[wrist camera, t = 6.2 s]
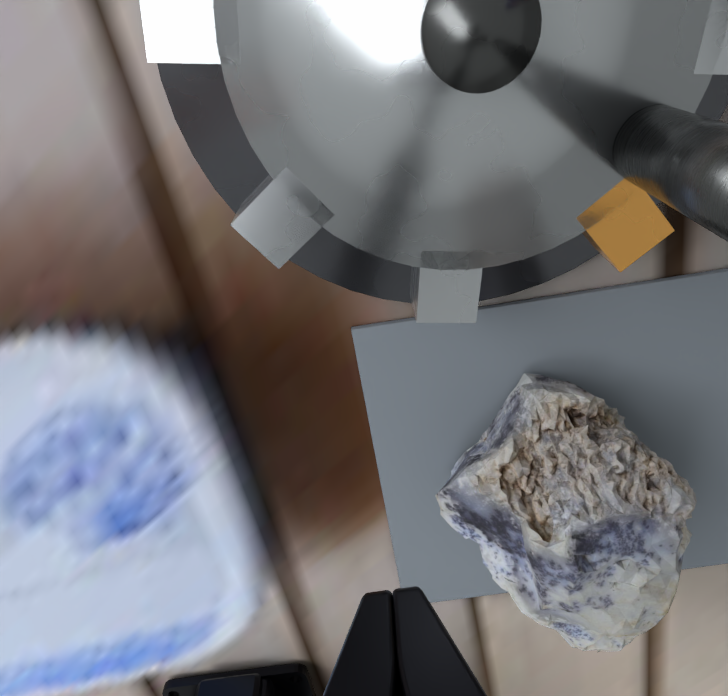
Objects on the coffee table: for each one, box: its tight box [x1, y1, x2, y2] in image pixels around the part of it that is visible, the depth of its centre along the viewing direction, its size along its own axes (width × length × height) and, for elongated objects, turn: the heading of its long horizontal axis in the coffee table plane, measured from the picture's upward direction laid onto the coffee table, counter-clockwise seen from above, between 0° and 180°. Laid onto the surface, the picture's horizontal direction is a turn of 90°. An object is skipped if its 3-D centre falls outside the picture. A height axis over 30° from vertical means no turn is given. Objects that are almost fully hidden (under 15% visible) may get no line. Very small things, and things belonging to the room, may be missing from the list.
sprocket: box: [140, 0, 728, 323], centre depth 12 cm, size 14×14×7 cm
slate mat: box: [351, 268, 728, 603], centre depth 22 cm, size 13×22×1 cm, turn 99°
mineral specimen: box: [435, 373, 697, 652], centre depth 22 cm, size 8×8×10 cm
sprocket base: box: [157, 0, 728, 303], centre depth 14 cm, size 15×15×4 cm
